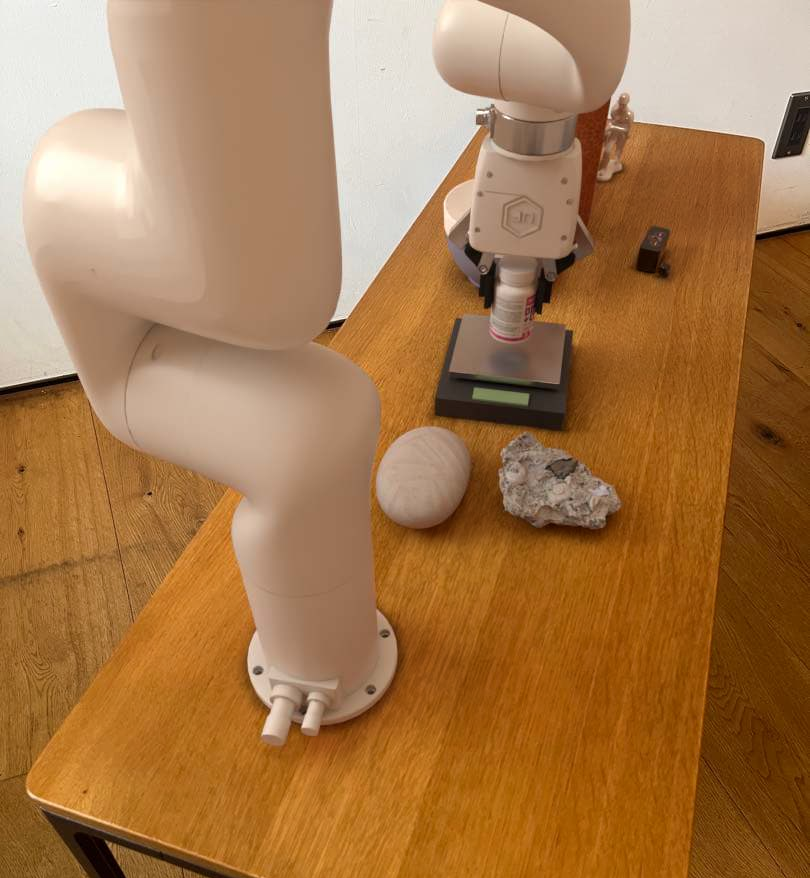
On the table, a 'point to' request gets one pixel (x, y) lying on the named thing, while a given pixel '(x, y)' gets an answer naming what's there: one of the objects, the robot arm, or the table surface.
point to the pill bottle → (514, 299)
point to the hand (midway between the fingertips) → (514, 302)
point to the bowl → (453, 211)
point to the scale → (503, 395)
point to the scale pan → (508, 354)
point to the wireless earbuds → (654, 251)
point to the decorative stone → (423, 477)
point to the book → (590, 155)
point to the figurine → (616, 137)
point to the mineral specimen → (552, 486)
